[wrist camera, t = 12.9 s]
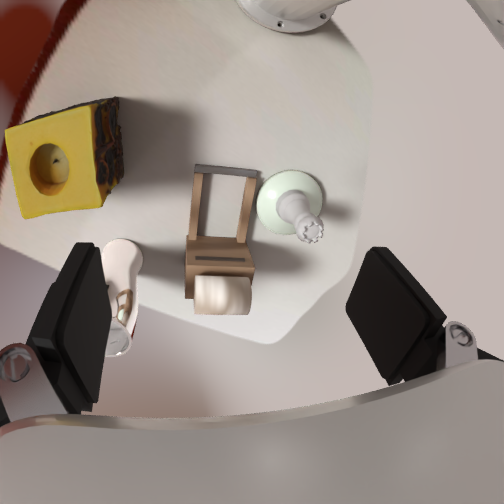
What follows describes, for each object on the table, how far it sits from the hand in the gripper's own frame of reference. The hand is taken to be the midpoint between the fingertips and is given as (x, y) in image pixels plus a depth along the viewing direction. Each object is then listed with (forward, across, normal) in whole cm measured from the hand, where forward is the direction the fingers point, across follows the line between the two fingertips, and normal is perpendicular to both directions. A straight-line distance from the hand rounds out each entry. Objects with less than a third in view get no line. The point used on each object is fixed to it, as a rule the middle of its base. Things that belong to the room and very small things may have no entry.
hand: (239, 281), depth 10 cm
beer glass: (+27, +11, +17) cm, 34 cm away
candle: (+28, +15, +1) cm, 31 cm away
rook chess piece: (+26, -12, +8) cm, 30 cm away
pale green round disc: (+27, -12, +8) cm, 31 cm away
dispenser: (+27, -3, +12) cm, 30 cm away
